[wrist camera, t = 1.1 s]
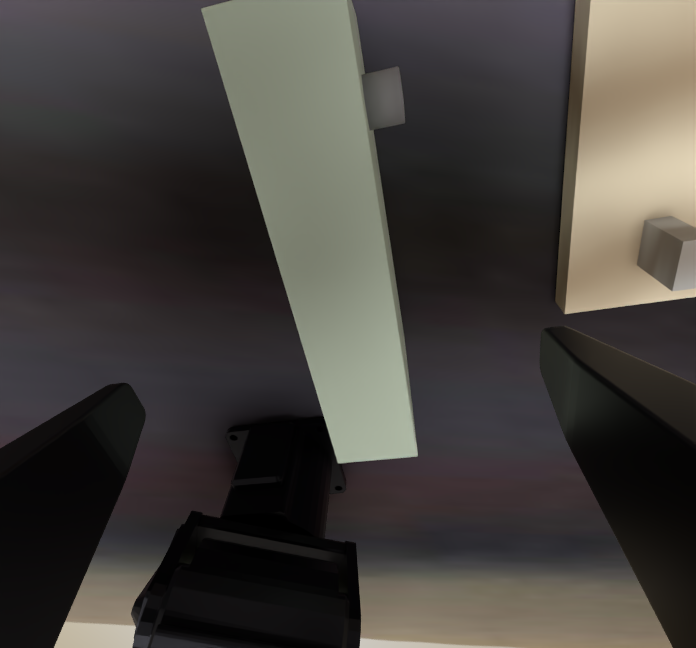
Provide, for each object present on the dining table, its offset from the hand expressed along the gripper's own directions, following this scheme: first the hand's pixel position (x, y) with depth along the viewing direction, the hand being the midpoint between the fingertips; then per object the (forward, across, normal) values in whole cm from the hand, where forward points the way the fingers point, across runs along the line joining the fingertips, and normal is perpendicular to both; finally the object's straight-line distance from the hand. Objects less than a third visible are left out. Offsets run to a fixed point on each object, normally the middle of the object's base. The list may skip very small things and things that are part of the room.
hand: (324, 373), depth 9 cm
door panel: (+12, 0, 0) cm, 12 cm away
